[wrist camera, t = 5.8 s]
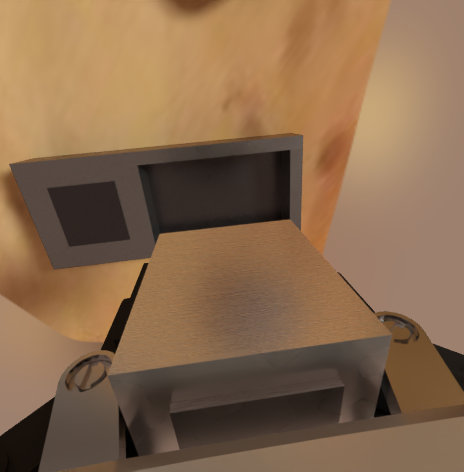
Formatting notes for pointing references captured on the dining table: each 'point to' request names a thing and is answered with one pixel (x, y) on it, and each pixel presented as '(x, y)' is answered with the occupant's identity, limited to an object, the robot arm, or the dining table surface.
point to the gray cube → (243, 341)
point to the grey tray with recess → (157, 194)
